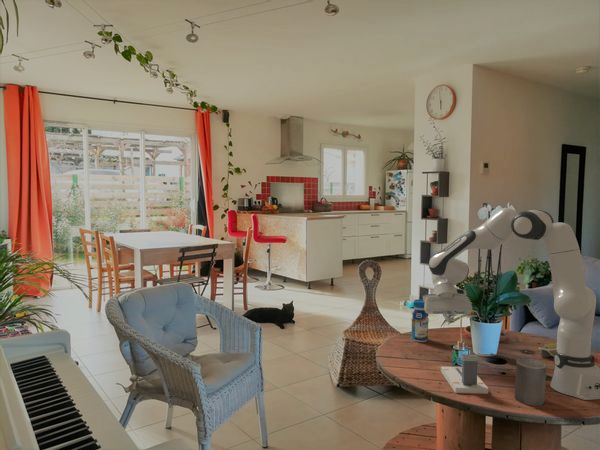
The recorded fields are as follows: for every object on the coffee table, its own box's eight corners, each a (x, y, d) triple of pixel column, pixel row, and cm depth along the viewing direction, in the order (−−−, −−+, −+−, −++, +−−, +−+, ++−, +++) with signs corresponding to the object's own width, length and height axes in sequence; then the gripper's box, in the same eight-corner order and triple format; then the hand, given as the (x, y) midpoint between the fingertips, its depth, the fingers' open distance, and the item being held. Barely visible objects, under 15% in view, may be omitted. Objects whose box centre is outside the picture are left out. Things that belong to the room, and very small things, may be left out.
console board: (470, 371, 193) (470, 366, 193) (488, 393, 172) (488, 388, 172) (440, 371, 193) (440, 366, 193) (455, 392, 172) (455, 387, 172)
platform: (576, 360, 207) (577, 346, 207) (544, 365, 202) (545, 350, 201) (554, 351, 219) (554, 338, 218) (523, 355, 213) (524, 341, 213)
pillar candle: (509, 394, 171) (510, 354, 170) (534, 393, 172) (536, 354, 171) (523, 406, 162) (525, 365, 160) (550, 405, 162) (552, 364, 161)
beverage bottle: (417, 336, 240) (418, 298, 239) (431, 340, 234) (432, 301, 233) (407, 339, 235) (408, 300, 234) (421, 343, 229) (422, 303, 227)
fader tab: (475, 382, 176) (476, 354, 175) (477, 384, 174) (478, 356, 173) (460, 382, 176) (461, 354, 175) (462, 384, 174) (463, 356, 173)
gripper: (423, 290, 207) (427, 317, 198) (469, 290, 206) (476, 318, 197) (420, 297, 211) (425, 325, 202) (466, 298, 211) (472, 325, 202)
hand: (450, 321), depth 200 cm, fingers closed
